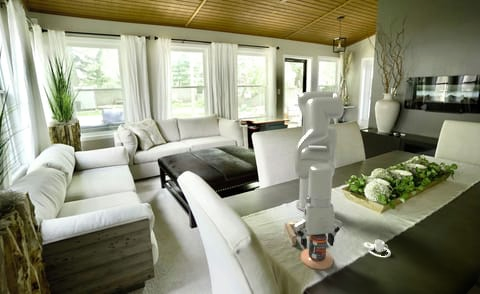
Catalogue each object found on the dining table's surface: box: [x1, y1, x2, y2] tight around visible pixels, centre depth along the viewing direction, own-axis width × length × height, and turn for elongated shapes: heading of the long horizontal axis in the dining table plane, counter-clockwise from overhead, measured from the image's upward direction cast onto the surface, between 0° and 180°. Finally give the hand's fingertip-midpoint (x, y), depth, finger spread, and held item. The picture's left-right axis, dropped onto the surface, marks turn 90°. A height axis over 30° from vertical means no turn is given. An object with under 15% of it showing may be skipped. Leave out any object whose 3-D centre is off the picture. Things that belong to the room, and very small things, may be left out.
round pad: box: [300, 248, 334, 271], centre depth 93 cm, size 11×11×1 cm
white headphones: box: [363, 239, 392, 258], centre depth 97 cm, size 9×8×4 cm
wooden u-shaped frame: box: [284, 221, 303, 246], centre depth 107 cm, size 12×10×4 cm
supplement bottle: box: [308, 234, 328, 261], centre depth 92 cm, size 6×6×11 cm
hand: (317, 245), depth 92 cm, fingers open, 9 cm apart
